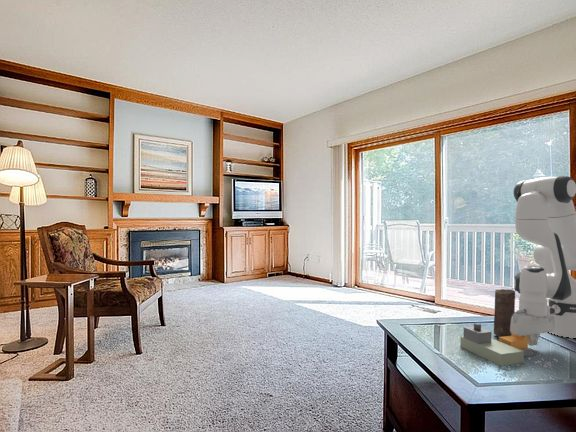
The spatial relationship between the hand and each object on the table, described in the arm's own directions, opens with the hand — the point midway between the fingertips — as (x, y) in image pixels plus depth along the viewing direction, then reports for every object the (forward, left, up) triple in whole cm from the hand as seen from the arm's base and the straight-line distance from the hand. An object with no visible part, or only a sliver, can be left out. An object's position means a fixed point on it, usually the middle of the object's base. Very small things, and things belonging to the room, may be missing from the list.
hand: (532, 344), depth 133 cm
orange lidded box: (+9, 0, -2) cm, 9 cm away
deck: (+15, 0, -2) cm, 15 cm away
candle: (-1, -13, -2) cm, 13 cm away
